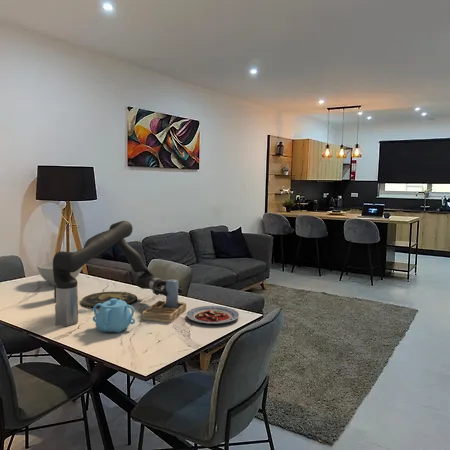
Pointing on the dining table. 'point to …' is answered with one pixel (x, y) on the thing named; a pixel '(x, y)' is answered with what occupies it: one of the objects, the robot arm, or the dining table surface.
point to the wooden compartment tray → (163, 312)
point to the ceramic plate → (212, 314)
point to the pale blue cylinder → (172, 294)
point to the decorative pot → (113, 316)
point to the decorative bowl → (51, 272)
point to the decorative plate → (108, 298)
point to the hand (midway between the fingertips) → (174, 292)
